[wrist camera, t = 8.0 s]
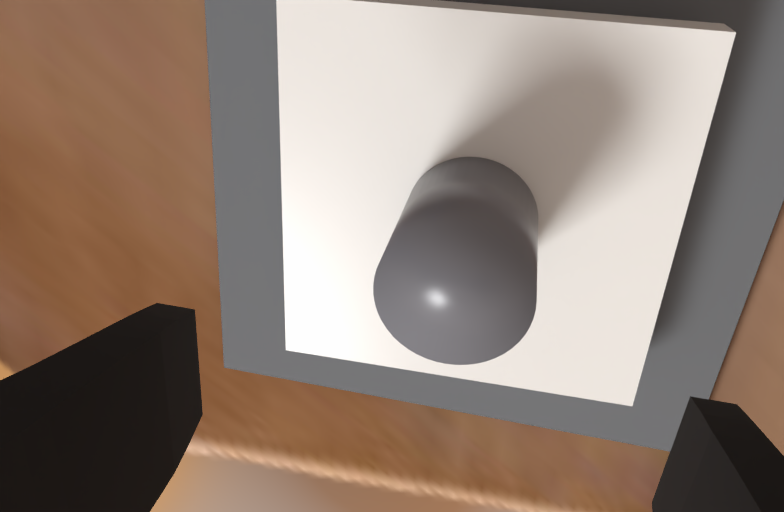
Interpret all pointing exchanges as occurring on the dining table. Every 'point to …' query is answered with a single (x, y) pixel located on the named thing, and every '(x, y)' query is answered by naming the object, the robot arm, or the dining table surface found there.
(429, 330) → the lid
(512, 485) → the dining table surface
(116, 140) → the dining table surface
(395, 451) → the dining table surface
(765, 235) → the mat
